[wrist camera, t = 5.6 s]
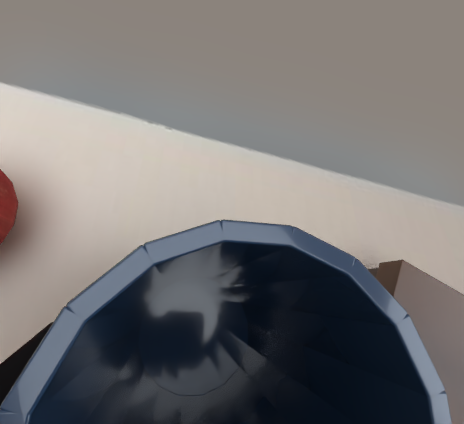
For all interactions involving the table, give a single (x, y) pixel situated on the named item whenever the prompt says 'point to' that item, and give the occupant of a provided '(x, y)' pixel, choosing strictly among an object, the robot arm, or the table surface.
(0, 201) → the onion
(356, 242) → the table surface
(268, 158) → the table surface
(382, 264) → the stand
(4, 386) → the robot arm
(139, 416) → the tumbler
